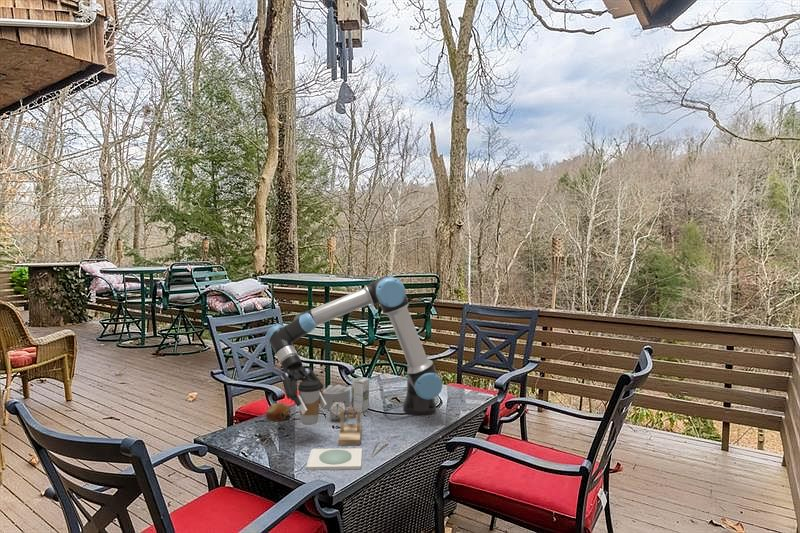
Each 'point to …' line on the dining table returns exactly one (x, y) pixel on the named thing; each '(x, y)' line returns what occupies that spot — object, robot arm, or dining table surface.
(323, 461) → the board
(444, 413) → the dining table surface
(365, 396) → the syrup box
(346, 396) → the lumpy-topped squat cylinder
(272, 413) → the brown rounded lump
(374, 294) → the robot arm
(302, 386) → the coffee cup
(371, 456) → the tweezers
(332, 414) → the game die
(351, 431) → the toy catapult
